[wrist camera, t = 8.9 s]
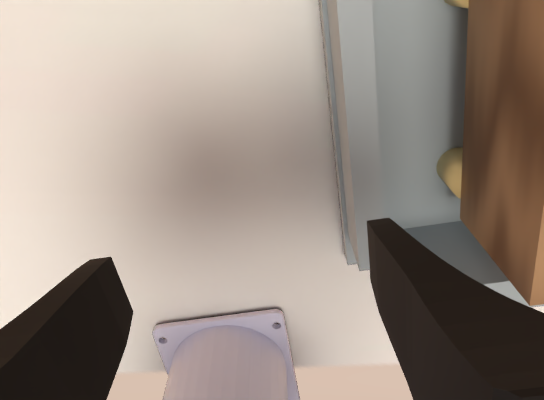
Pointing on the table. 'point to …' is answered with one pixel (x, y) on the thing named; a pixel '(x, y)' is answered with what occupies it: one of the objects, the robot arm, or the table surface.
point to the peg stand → (402, 126)
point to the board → (506, 139)
